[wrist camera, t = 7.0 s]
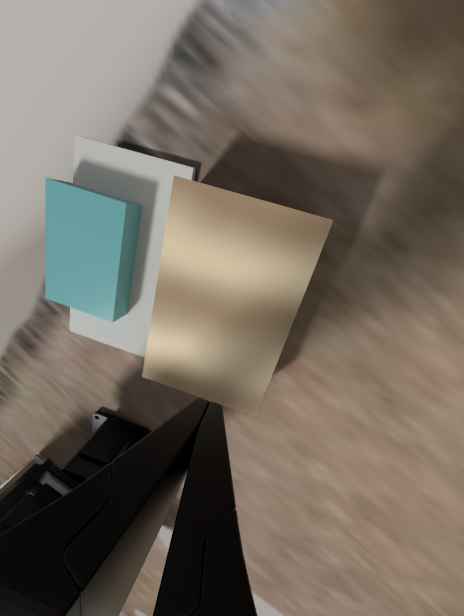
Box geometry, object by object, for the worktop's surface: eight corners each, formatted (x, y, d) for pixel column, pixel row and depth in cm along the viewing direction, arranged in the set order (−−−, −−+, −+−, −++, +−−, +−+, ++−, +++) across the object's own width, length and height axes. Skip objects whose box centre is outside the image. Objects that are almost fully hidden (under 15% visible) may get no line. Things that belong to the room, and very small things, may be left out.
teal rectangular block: (45, 298, 20) (65, 291, 22) (112, 322, 19) (127, 313, 21) (45, 177, 17) (69, 182, 18) (126, 203, 16) (142, 205, 18)
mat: (160, 359, 23) (158, 362, 22) (73, 328, 23) (69, 330, 23) (196, 169, 17) (193, 167, 16) (79, 137, 18) (74, 135, 17)
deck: (259, 384, 22) (255, 417, 18) (165, 351, 22) (141, 376, 19) (321, 221, 17) (333, 220, 13) (197, 185, 17) (173, 175, 14)
